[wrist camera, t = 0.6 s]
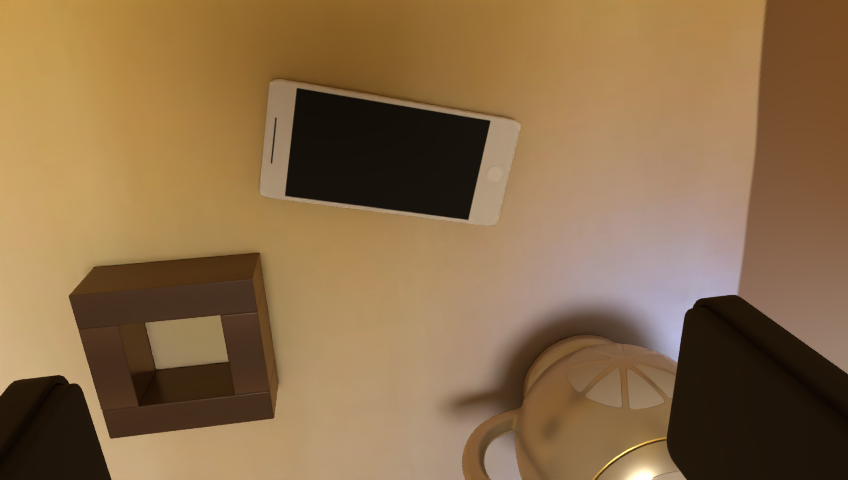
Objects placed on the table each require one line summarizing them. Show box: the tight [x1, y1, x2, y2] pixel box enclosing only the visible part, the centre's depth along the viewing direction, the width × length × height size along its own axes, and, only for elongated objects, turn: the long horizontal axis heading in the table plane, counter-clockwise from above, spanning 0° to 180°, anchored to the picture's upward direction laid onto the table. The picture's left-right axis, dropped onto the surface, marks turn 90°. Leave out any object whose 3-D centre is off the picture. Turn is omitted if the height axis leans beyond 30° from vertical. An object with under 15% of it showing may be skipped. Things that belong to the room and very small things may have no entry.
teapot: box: [462, 335, 686, 480], centre depth 38 cm, size 18×14×16 cm
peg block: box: [69, 253, 278, 439], centre depth 38 cm, size 10×10×4 cm
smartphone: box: [259, 79, 521, 226], centre depth 37 cm, size 7×16×1 cm, turn 79°
